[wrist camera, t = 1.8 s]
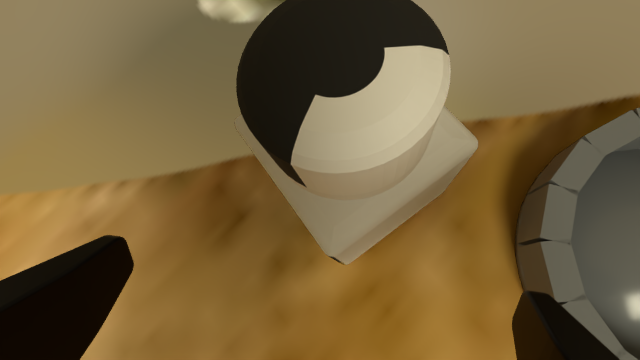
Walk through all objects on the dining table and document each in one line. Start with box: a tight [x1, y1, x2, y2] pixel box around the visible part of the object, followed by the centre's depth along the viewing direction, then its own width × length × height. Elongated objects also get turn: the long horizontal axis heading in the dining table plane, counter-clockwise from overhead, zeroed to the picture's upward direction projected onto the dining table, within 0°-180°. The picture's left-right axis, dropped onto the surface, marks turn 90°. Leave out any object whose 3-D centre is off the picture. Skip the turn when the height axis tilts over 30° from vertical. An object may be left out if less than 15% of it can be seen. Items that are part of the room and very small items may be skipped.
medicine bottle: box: [234, 0, 478, 265], centre depth 15 cm, size 7×7×12 cm
